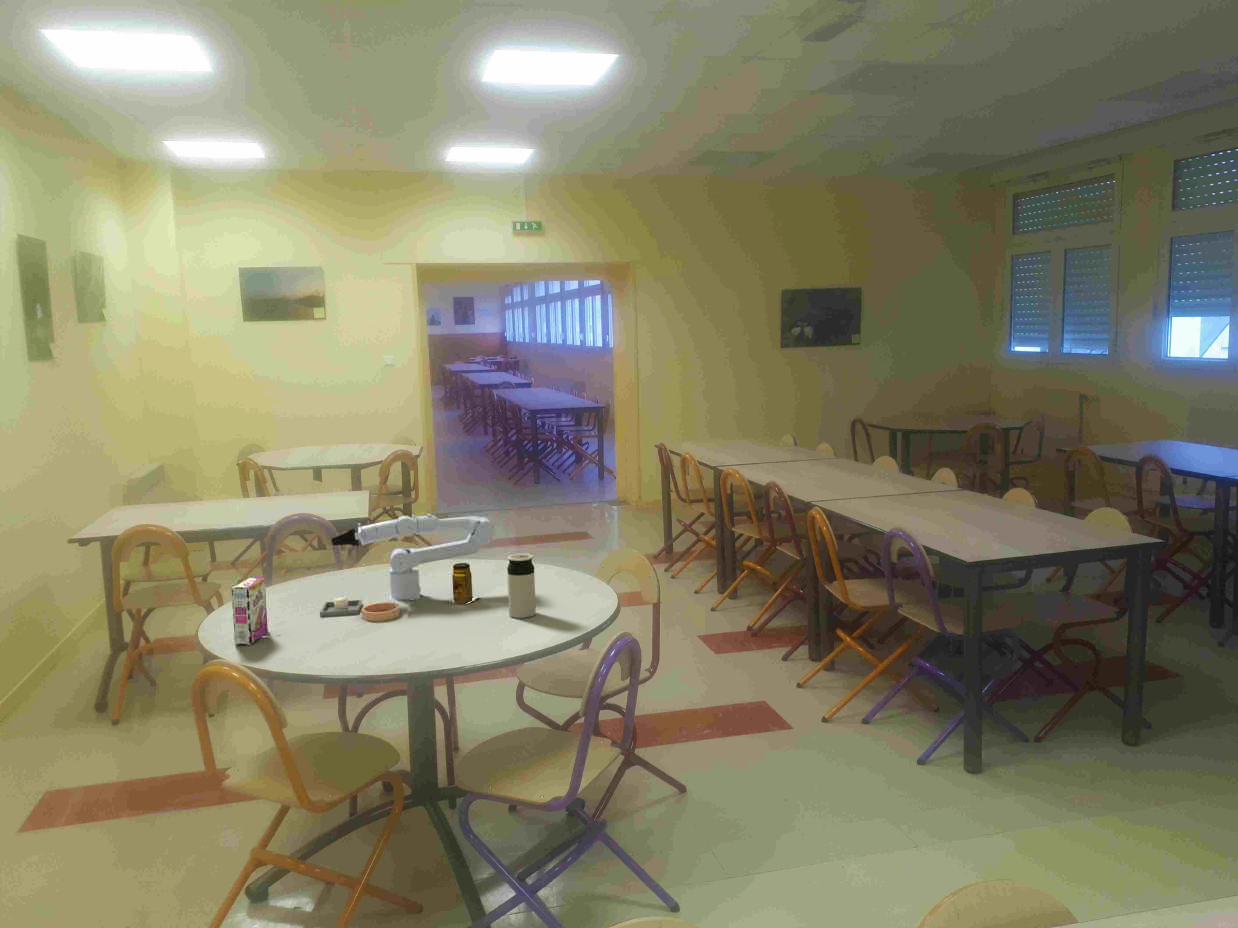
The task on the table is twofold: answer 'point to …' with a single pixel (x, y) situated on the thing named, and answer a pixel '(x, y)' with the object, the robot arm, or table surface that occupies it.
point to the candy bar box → (249, 611)
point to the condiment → (462, 583)
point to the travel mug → (521, 586)
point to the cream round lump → (341, 603)
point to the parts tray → (330, 610)
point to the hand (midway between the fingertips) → (333, 542)
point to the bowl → (380, 611)
